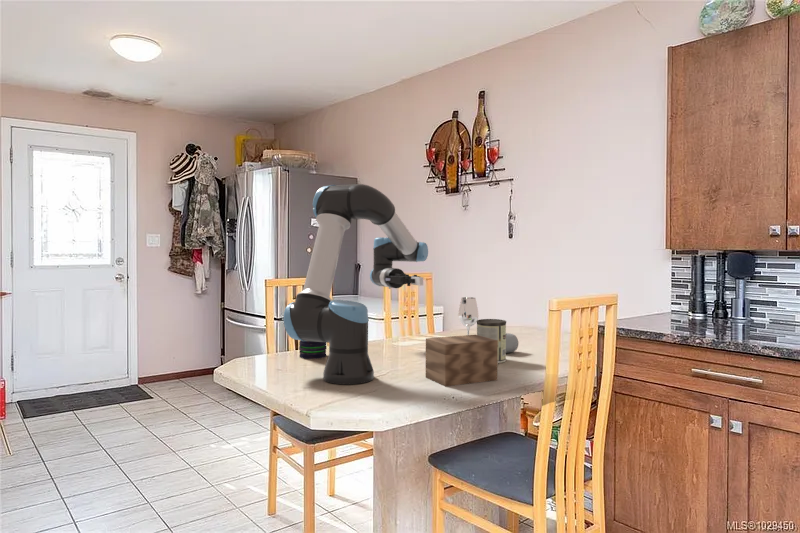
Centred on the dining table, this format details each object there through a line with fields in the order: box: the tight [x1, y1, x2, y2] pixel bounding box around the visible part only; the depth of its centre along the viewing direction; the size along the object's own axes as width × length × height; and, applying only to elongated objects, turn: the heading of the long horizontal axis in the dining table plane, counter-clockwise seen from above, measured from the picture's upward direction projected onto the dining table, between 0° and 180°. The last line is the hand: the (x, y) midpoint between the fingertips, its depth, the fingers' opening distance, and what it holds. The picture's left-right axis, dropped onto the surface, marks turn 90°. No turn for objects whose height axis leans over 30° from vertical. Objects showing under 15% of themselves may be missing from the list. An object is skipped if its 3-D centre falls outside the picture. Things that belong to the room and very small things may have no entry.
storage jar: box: [298, 340, 327, 360], centre depth 201 cm, size 10×10×15 cm
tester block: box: [425, 334, 498, 387], centre depth 168 cm, size 18×12×12 cm, turn 115°
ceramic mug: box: [506, 332, 519, 354], centre depth 211 cm, size 11×8×8 cm
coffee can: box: [476, 318, 507, 364], centre depth 195 cm, size 10×10×14 cm
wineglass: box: [457, 296, 479, 335], centre depth 218 cm, size 8×8×20 cm
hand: (421, 281), depth 191 cm, fingers closed
